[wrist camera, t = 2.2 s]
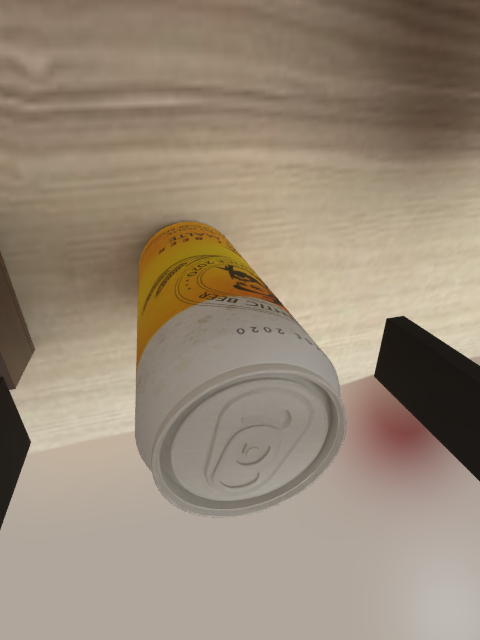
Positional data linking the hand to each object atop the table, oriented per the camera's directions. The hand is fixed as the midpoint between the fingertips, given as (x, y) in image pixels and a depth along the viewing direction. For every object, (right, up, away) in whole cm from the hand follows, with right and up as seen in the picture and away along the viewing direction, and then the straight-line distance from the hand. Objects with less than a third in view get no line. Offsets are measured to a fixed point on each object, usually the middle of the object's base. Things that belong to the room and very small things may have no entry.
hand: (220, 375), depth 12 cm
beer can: (-3, +5, +10) cm, 12 cm away
